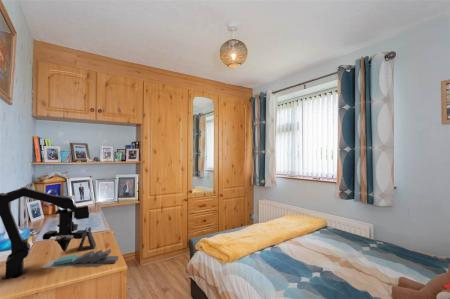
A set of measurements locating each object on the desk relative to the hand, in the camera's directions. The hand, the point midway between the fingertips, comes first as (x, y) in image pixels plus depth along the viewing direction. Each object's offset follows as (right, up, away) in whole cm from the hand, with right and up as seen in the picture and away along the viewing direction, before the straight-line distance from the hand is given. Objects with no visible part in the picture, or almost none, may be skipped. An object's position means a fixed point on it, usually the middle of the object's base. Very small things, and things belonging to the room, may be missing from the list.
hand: (64, 251), depth 120 cm
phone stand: (0, -7, +19) cm, 20 cm away
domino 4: (+14, -5, +2) cm, 15 cm away
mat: (+5, -7, 0) cm, 9 cm away
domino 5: (+17, -6, +2) cm, 18 cm away
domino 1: (-4, -5, -1) cm, 7 cm away
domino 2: (+5, -6, +1) cm, 7 cm away
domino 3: (+9, -6, +1) cm, 11 cm away
